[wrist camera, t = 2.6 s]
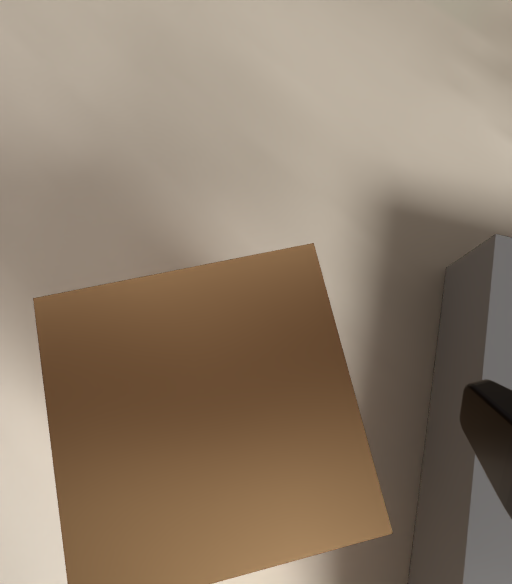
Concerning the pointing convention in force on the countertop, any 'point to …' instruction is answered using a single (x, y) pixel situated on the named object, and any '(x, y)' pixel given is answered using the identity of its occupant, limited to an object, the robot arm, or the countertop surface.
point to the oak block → (204, 423)
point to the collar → (450, 437)
